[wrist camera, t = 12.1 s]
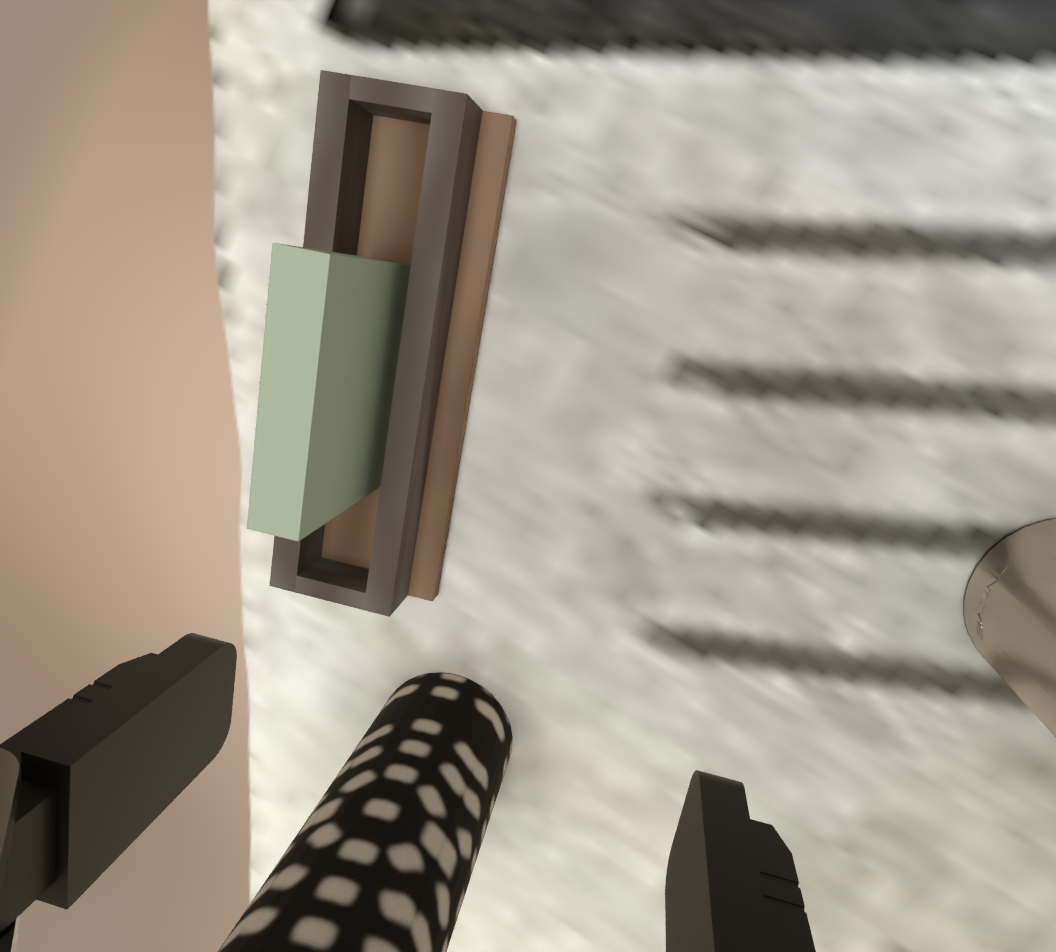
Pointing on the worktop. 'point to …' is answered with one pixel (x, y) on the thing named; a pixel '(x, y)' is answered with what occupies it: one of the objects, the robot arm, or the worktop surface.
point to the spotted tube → (390, 831)
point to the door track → (405, 317)
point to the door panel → (324, 386)
